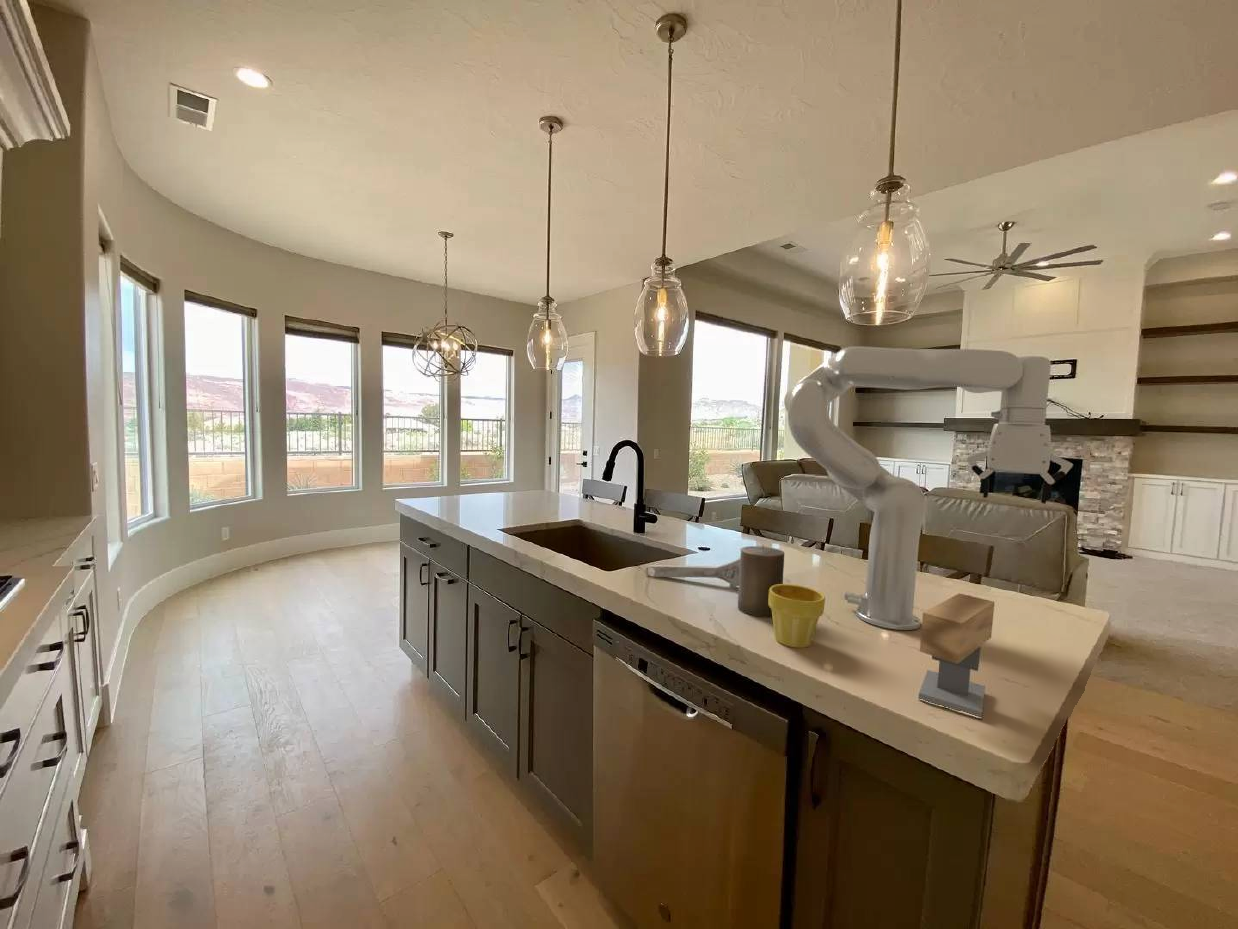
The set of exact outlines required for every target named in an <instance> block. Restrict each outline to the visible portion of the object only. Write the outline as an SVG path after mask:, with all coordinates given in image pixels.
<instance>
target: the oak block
mask: <svg viewBox="0 0 1238 929" xmlns="http://www.w3.org/2000/svg"><path fill="white" fill-rule="evenodd" d="M994 612H995V601H992V600H989V599H985V598H981V597H977V596H972V595H969V594H968V595H967V594H964V593H960V592H959V593H957V594H955V595H953V596H951V597H949V598H947V599H946V600H944V601H942V602H940V603H939V604H936V605H935V606H933V607H931V608H929V609H927V610H925V611H924V612H922V621H921V623H922V624H921V632H920V643H919V644H920V645H919V652H921V653H924V654H926V655H929V656H931V657H932V656H935V657H938V658H941V659H944V660H947V661H950V662H953V663H956V664H958V663H960V662H961V661H962V660H964V659H965V658H966V657H967V656H969V655H970V654H971V653H972V652H974V651H975V650H976V649H977V648H979V647H981V646H982V645H984V644H985V643H986V642H988V641H989V640H990V639H991V638H992V632H993V624H994Z"/></svg>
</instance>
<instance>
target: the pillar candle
mask: <svg viewBox="0 0 1238 929" xmlns="http://www.w3.org/2000/svg"><path fill="white" fill-rule="evenodd" d="M739 550H740V557H739V558H740V572H739V573H740V574H739V586H738V593H737V596H738V597H737V608H738V611H741V612H743V613H745V614H749V615H752V616H757V617H762V618H769V617H770V618H773V617H772V609H771V608H770V607H769V605H768V598H769V589H770V587H771V586H773V585H778V584H784V569H785V568H784V567H785V552H784V550H781V549H778V548H775V547H770V546H767V547H766V546H764V544H763V545H762V546H760V545H759V546H757V545H756V546H749V545H748V546H744V547H741V548H740V549H739Z"/></svg>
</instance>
